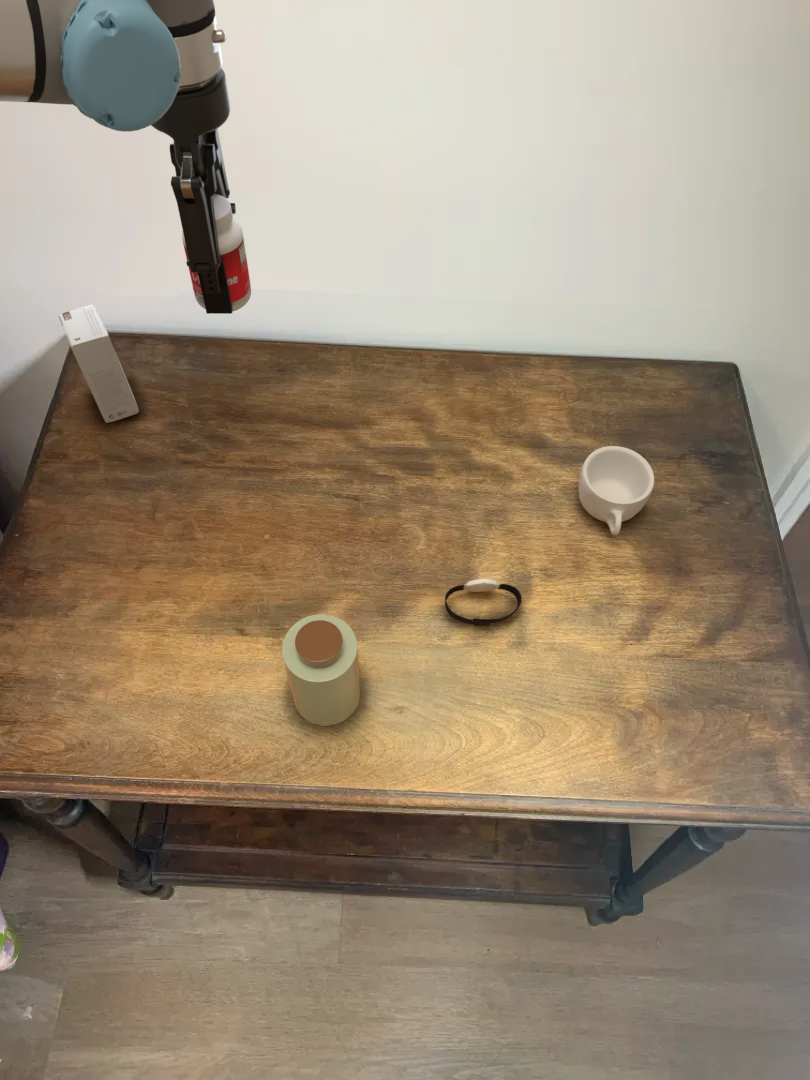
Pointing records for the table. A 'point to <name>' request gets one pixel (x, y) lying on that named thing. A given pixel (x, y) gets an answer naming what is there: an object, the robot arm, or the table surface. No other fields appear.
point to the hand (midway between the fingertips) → (222, 290)
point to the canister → (322, 669)
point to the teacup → (615, 485)
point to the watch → (482, 586)
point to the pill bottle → (228, 256)
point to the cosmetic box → (99, 363)
